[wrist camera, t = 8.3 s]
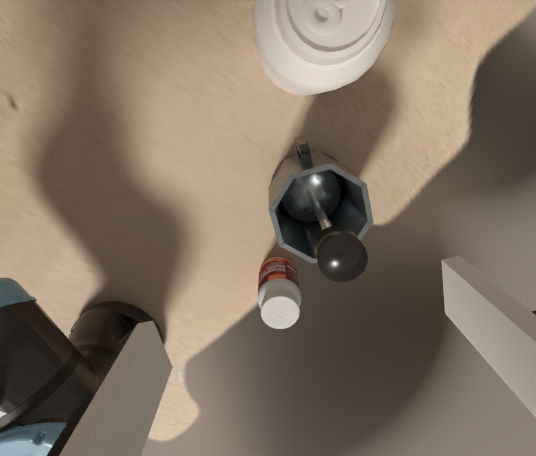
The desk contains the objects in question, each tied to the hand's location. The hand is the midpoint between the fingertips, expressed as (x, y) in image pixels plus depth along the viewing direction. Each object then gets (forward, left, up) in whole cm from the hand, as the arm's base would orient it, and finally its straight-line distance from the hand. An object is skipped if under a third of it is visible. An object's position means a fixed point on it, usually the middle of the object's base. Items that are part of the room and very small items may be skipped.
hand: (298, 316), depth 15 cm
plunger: (+4, -4, -35) cm, 35 cm away
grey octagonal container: (+4, -3, -37) cm, 37 cm away
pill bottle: (-4, -16, -37) cm, 40 cm away
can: (+8, +15, -37) cm, 40 cm away
